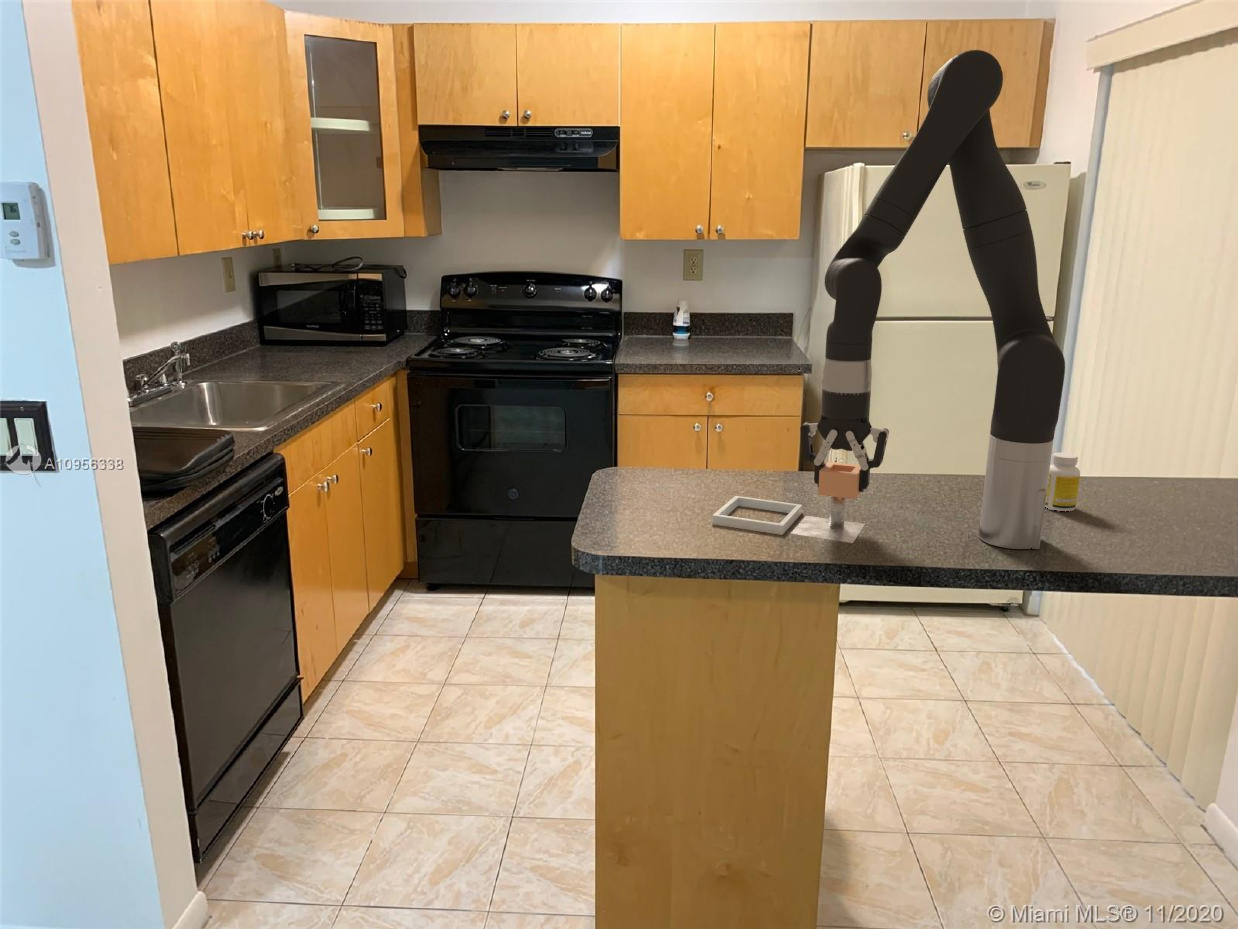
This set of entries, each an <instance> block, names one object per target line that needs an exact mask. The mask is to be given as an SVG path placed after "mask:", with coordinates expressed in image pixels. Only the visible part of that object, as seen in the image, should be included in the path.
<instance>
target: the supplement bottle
mask: <svg viewBox="0 0 1238 929" xmlns="http://www.w3.org/2000/svg"><path fill="white" fill-rule="evenodd" d="M1051 459H1052V460H1051V461H1052V462H1051V463H1053V464H1050V470H1049V478H1048V486H1047V496H1046V503H1045V507H1046V508H1045V509H1047V508H1048V509H1047V510H1050V511H1054V510H1057V511H1056V512H1060V511H1065V512H1064V513H1067V512H1066V511H1069V512H1072V511H1075V509H1076V505H1077V500H1078V499H1077V498H1078V492H1079V484H1080V477H1081V470H1080V469H1079V467H1076V465H1077V464H1078V459H1079V456H1078V455H1077V454H1074V453H1070V452H1054V453H1052V458H1051Z"/></svg>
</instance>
